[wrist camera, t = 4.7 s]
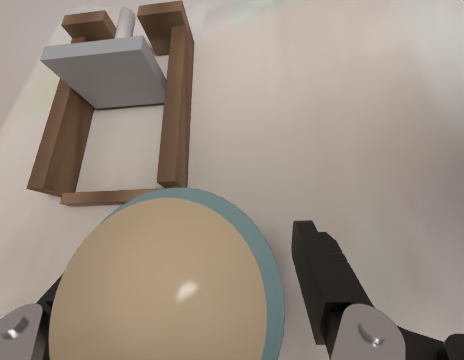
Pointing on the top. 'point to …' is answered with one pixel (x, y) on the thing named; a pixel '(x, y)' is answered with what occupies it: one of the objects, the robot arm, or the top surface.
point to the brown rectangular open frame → (80, 111)
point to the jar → (170, 285)
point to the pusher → (110, 68)
